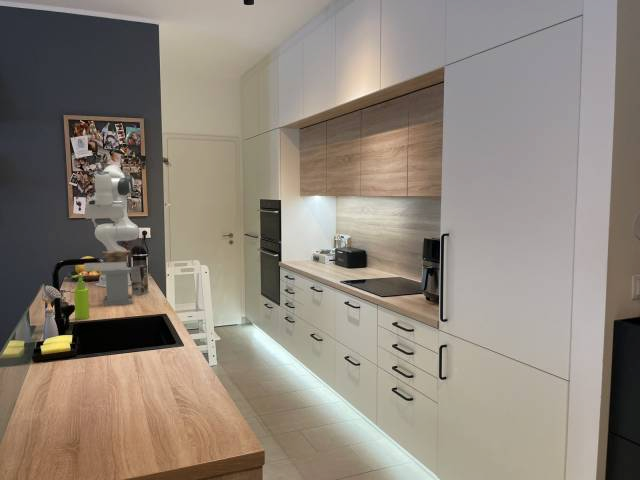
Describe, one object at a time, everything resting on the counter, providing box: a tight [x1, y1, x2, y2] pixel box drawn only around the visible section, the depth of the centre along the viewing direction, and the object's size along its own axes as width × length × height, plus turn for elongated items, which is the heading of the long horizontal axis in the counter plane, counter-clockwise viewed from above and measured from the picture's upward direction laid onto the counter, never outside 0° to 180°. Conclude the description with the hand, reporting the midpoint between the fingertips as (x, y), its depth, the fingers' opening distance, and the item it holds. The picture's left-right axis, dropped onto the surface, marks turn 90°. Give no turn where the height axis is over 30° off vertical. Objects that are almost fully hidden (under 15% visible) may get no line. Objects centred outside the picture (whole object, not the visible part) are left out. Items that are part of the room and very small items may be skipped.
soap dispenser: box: [71, 274, 90, 320], centre depth 229 cm, size 6×7×20 cm
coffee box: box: [130, 264, 149, 296], centre depth 286 cm, size 9×6×16 cm
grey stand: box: [100, 267, 133, 307], centre depth 260 cm, size 14×8×18 cm, turn 110°
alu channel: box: [83, 261, 127, 272], centre depth 257 cm, size 20×4×4 cm, turn 110°
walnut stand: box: [101, 249, 133, 300], centre depth 270 cm, size 14×8×26 cm, turn 110°
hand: (105, 226), depth 275 cm, fingers open, 8 cm apart
